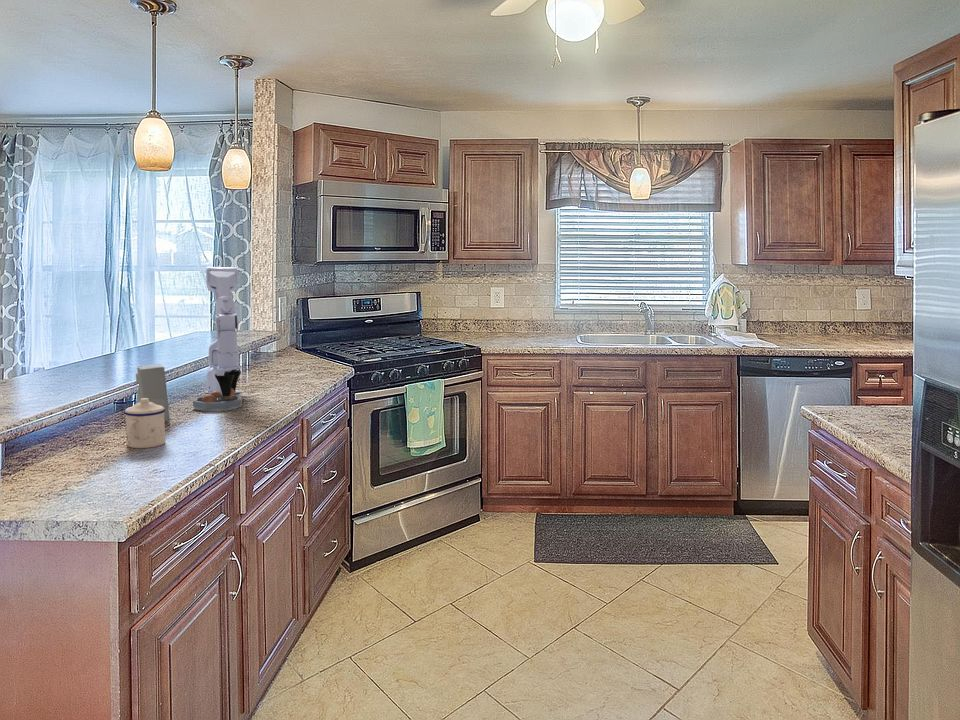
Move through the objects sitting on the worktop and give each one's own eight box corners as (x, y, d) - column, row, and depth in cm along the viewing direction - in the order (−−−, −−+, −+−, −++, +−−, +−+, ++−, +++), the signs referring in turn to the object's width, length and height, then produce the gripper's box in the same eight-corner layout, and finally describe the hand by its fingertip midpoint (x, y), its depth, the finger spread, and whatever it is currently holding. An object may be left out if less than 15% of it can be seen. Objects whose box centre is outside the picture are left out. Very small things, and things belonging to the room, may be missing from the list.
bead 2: (220, 399, 215) (219, 387, 214) (229, 397, 218) (229, 385, 218) (228, 400, 213) (228, 388, 212) (238, 398, 216) (237, 387, 216)
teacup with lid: (139, 438, 176) (137, 394, 174) (173, 440, 175) (171, 395, 173) (110, 451, 164) (108, 403, 162) (147, 453, 163) (144, 405, 161)
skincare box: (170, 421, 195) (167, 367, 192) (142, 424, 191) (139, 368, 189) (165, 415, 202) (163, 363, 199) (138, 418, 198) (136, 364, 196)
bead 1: (207, 403, 218) (205, 392, 217) (216, 400, 221) (215, 389, 220) (215, 404, 216) (213, 392, 215) (225, 401, 219) (223, 390, 218)
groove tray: (184, 407, 213) (184, 399, 213) (220, 400, 225) (220, 392, 225) (215, 413, 206) (214, 405, 206) (250, 405, 219) (250, 397, 218)
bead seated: (199, 406, 212) (199, 394, 211) (209, 404, 215) (209, 392, 215) (207, 407, 210) (207, 395, 210) (217, 405, 213) (217, 393, 213)
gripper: (232, 355, 206) (233, 399, 208) (247, 349, 221) (248, 390, 223) (209, 354, 206) (210, 398, 208) (225, 349, 221) (227, 390, 222)
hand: (228, 394), depth 215 cm, fingers closed on bead 2, 4 cm apart
